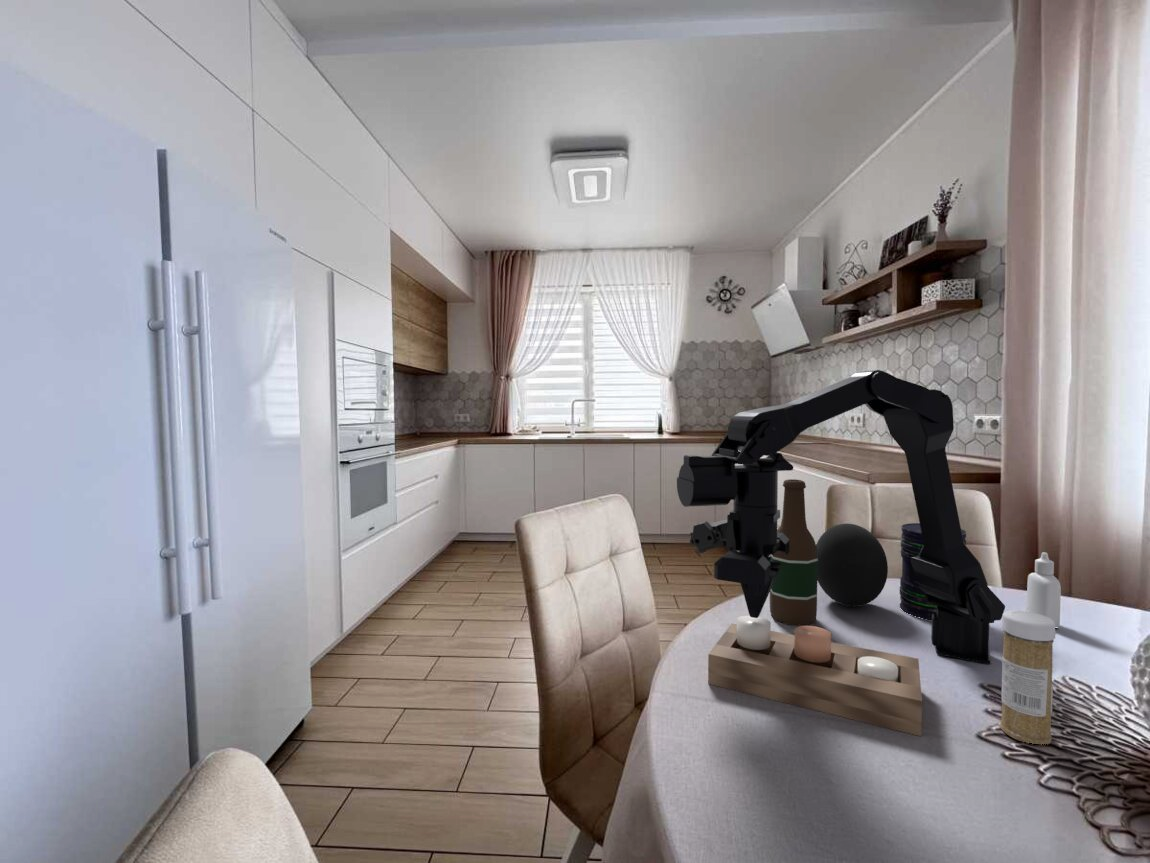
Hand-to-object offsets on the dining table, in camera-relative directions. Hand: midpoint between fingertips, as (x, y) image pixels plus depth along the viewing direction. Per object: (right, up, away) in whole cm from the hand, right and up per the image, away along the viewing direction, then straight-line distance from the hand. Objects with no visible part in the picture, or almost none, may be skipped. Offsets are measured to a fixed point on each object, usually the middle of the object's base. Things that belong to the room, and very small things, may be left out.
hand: (754, 616), depth 77 cm
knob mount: (+6, -8, -3) cm, 11 cm away
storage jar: (+39, -7, +23) cm, 46 cm away
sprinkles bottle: (+25, -9, -14) cm, 30 cm away
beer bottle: (+13, -7, +20) cm, 25 cm away
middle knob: (+6, -4, -4) cm, 8 cm away
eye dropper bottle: (+54, -7, +18) cm, 58 cm away
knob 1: (0, -4, 0) cm, 4 cm away
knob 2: (+13, -7, -7) cm, 16 cm away
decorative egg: (+26, -7, +27) cm, 38 cm away
